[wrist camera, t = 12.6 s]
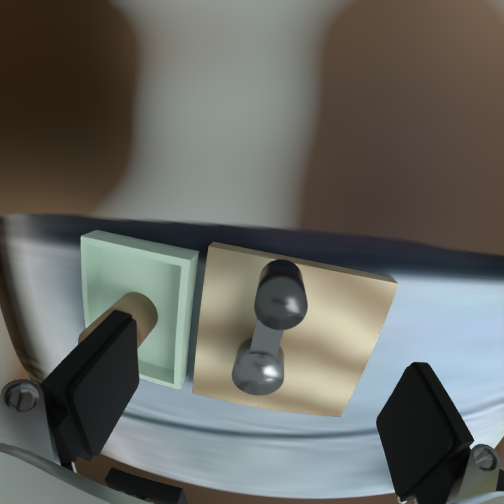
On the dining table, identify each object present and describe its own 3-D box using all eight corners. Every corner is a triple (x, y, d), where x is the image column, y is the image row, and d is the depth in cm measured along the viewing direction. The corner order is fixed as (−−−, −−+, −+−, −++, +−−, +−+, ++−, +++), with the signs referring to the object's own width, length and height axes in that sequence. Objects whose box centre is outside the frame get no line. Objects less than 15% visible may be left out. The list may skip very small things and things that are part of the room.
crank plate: (338, 407, 26) (340, 416, 25) (195, 383, 27) (192, 393, 26) (391, 277, 22) (398, 283, 21) (213, 241, 23) (208, 246, 21)
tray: (186, 374, 27) (179, 390, 24) (101, 347, 27) (89, 359, 25) (199, 251, 23) (190, 260, 21) (96, 229, 24) (80, 235, 21)
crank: (278, 378, 24) (276, 431, 18) (233, 370, 24) (220, 421, 18) (312, 255, 21) (325, 289, 14) (257, 244, 21) (247, 274, 15)
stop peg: (157, 335, 25) (125, 381, 18) (120, 324, 25) (82, 364, 18) (158, 297, 24) (121, 339, 17) (119, 287, 24) (75, 322, 17)
